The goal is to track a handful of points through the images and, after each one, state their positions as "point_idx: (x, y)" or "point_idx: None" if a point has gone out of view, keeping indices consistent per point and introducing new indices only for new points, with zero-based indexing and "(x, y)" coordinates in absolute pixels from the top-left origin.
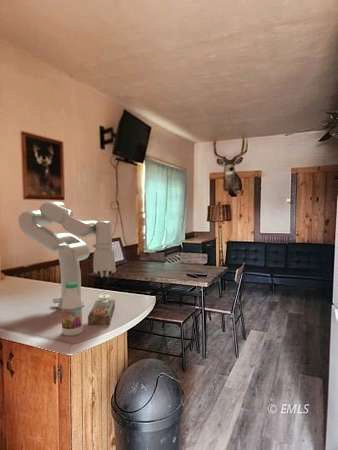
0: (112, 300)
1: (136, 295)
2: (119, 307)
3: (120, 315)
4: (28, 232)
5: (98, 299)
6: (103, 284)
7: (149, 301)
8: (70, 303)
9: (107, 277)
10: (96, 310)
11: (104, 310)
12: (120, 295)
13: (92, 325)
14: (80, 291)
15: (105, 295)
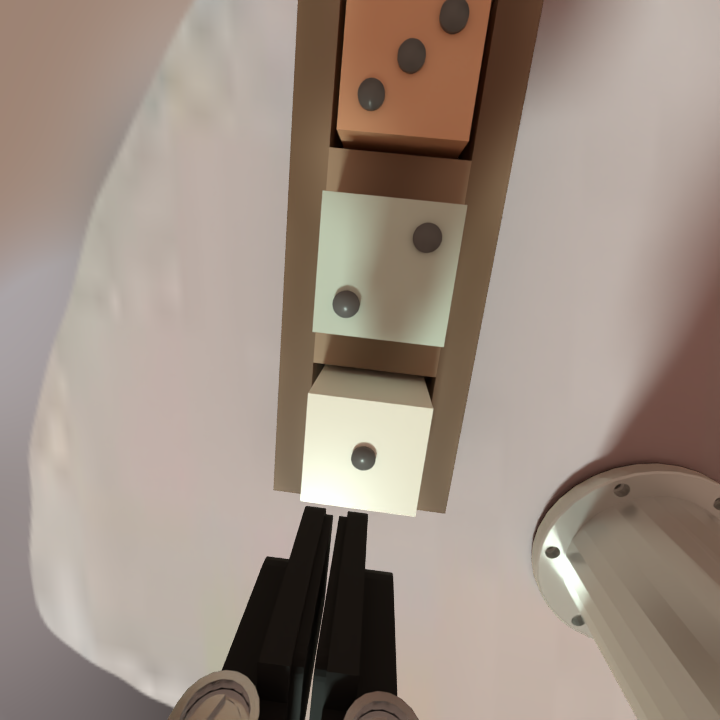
0: (292, 464)
1: (148, 667)
2: (256, 443)
3: (238, 247)
4: None
5: (433, 339)
6: (359, 519)
7: (43, 526)
8: None
9: (233, 670)
10: (455, 62)
11: (359, 45)
12: None
13: None
14: (635, 655)
15: (351, 480)
